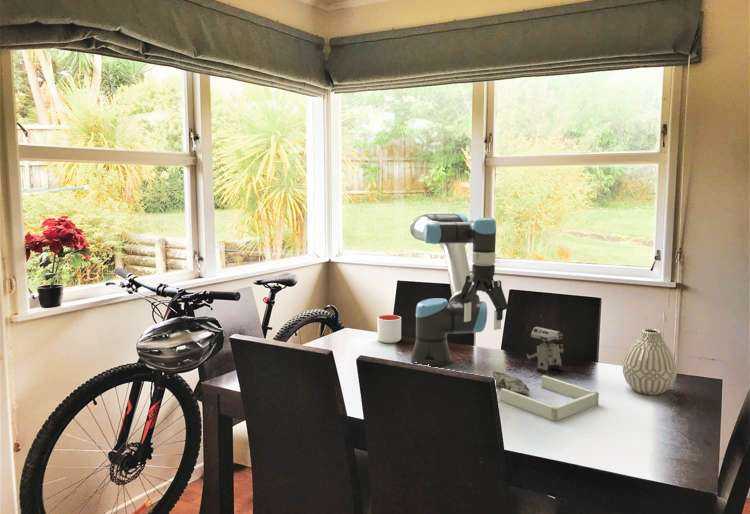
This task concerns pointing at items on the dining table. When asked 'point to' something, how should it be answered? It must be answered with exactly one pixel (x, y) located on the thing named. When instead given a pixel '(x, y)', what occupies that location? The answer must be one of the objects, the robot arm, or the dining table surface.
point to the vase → (649, 364)
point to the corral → (581, 402)
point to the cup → (389, 328)
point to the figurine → (547, 349)
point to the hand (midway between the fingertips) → (481, 325)
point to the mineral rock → (510, 383)
